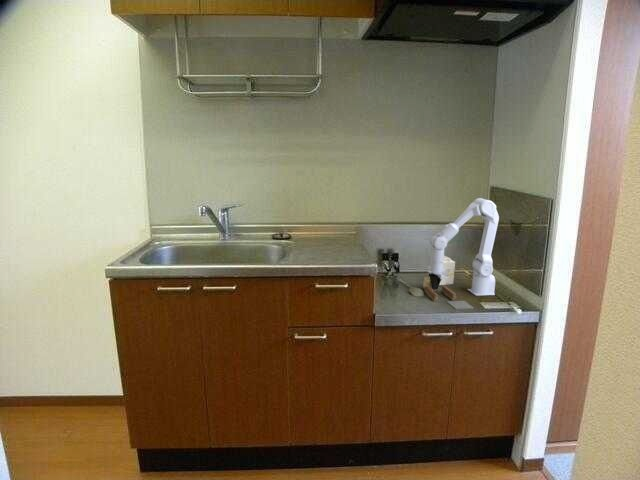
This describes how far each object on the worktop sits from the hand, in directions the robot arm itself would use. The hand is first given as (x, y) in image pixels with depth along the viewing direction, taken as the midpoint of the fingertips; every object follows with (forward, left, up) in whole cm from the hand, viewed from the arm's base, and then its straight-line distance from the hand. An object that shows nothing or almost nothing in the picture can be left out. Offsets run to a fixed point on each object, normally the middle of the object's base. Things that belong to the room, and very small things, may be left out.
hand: (434, 289), depth 184 cm
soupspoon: (+10, -7, -2) cm, 12 cm away
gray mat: (-4, +17, -1) cm, 18 cm away
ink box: (-10, -14, -2) cm, 17 cm away
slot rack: (0, +5, -1) cm, 6 cm away
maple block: (0, -5, -1) cm, 5 cm away
